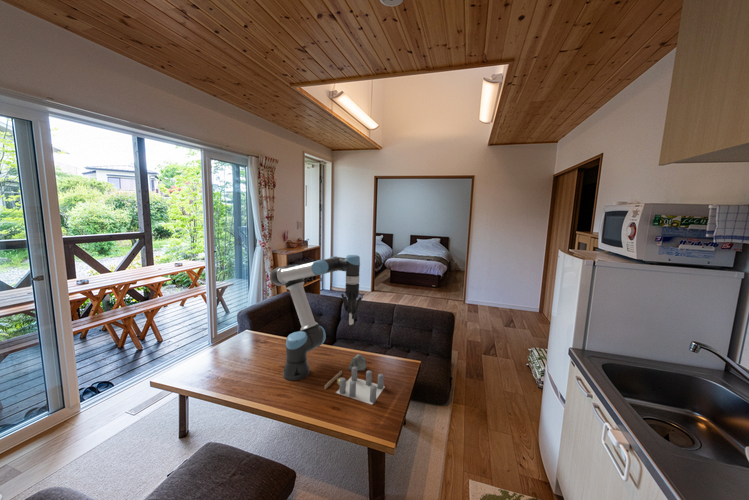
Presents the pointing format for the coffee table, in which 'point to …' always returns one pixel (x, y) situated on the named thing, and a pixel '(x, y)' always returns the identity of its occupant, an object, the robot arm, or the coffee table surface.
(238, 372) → the coffee table surface
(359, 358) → the stone
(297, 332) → the robot arm
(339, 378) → the brass dome
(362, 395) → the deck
